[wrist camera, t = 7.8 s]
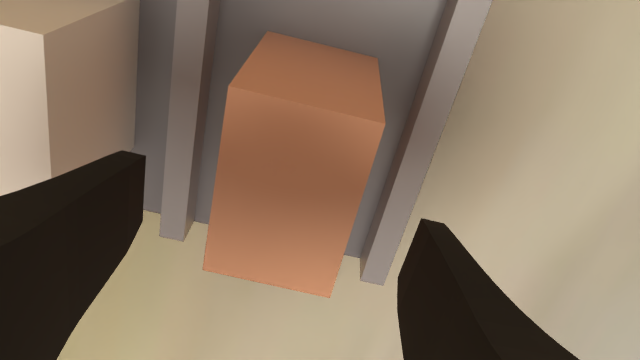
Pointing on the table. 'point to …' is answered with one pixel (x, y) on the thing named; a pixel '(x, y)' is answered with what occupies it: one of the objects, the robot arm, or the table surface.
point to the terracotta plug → (293, 163)
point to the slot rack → (315, 26)
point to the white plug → (65, 85)
